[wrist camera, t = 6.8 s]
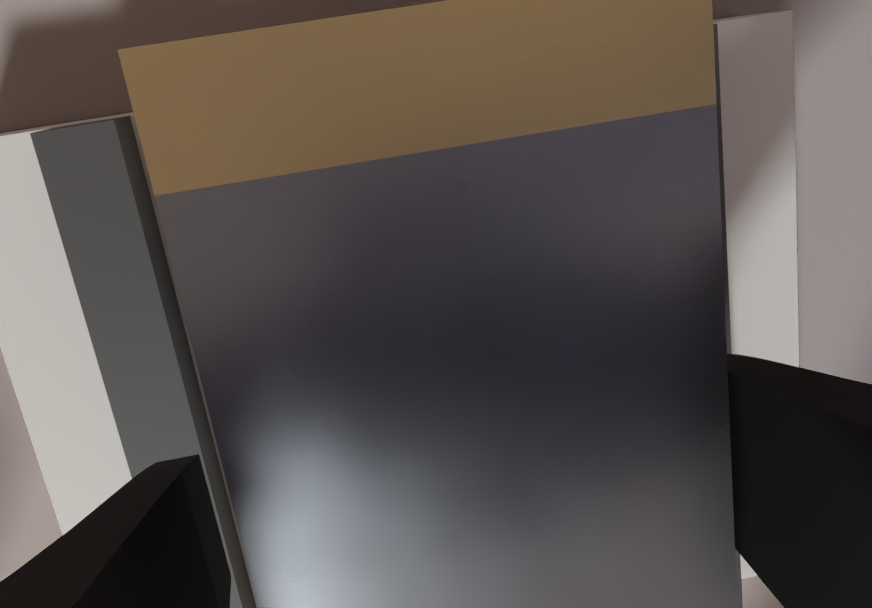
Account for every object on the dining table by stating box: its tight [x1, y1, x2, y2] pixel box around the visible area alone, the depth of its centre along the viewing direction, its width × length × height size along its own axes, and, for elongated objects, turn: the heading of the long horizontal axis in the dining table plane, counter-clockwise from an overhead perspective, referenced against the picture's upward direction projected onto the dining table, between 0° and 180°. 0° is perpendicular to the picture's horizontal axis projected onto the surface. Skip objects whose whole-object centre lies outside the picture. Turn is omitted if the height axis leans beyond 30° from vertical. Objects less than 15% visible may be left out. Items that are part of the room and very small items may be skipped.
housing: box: [117, 0, 737, 608], centre depth 11 cm, size 10×5×6 cm, turn 8°
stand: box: [0, 10, 799, 608], centre depth 15 cm, size 14×11×3 cm
